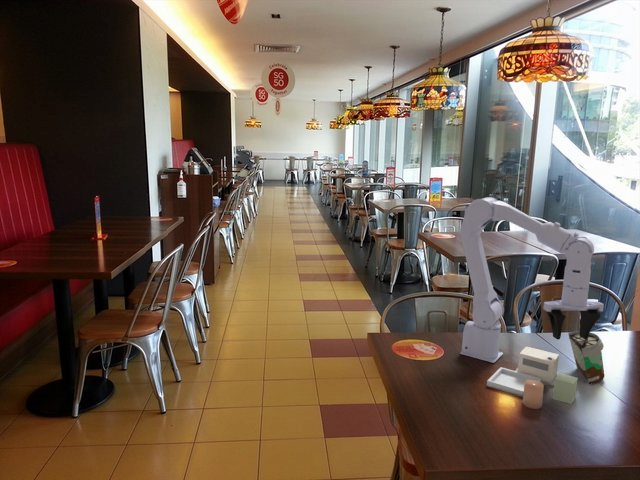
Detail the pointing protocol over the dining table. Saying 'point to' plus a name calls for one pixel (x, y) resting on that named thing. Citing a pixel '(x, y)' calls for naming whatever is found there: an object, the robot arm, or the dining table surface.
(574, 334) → the food container
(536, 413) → the dining table surface
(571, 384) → the green part
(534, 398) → the terracotta part
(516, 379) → the tray
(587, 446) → the dining table surface
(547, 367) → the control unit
